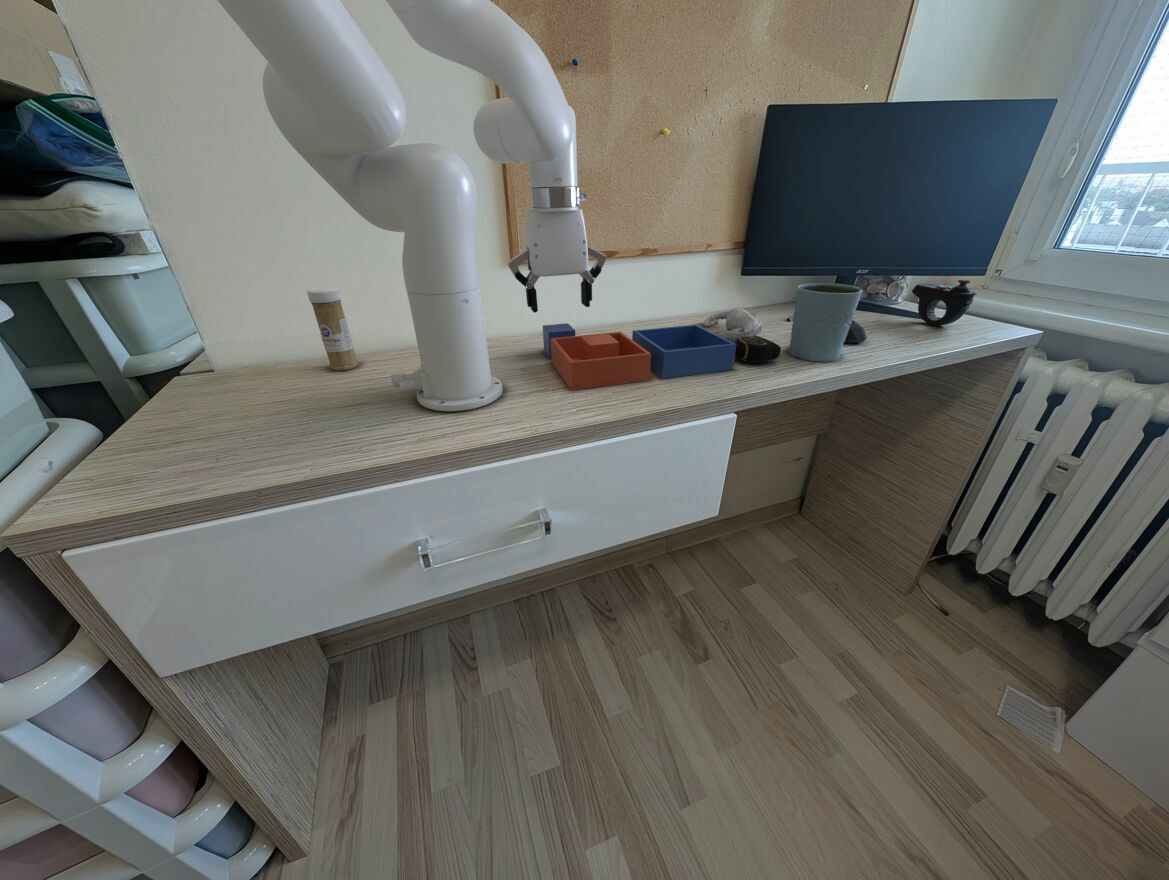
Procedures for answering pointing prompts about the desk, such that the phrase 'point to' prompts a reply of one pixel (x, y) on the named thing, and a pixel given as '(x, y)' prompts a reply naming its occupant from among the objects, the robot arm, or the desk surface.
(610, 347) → the terracotta block
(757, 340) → the tape measure
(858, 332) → the gaming mouse
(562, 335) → the blue block
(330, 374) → the desk surface
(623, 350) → the terracotta bin
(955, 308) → the controller
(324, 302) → the sprinkles bottle
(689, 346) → the blue bin
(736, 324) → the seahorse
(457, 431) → the desk surface
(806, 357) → the grey-green cup
